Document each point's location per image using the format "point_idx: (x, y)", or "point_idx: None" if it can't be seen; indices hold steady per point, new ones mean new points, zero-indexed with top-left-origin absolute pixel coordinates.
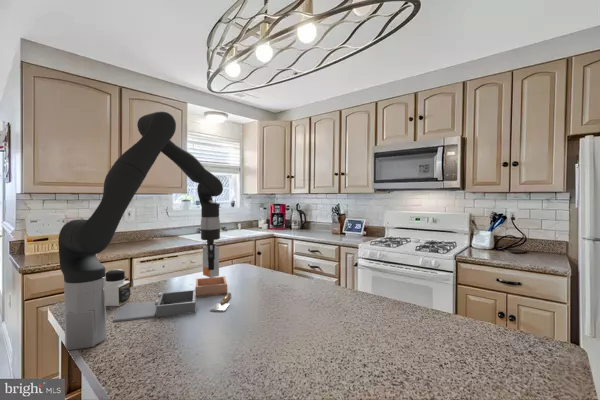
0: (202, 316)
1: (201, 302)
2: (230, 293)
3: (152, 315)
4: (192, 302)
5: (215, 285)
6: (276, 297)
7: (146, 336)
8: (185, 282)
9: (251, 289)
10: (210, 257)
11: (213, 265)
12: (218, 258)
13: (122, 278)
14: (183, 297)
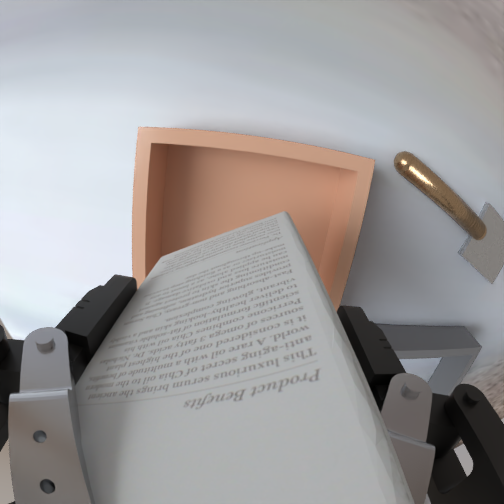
0: (496, 306)
1: (397, 302)
2: (415, 158)
3: None
4: (477, 354)
5: (355, 242)
6: (472, 3)
7: None
8: (55, 319)
9: (327, 8)
10: (456, 443)
11: (372, 336)
12: (334, 309)
13: None
14: None
